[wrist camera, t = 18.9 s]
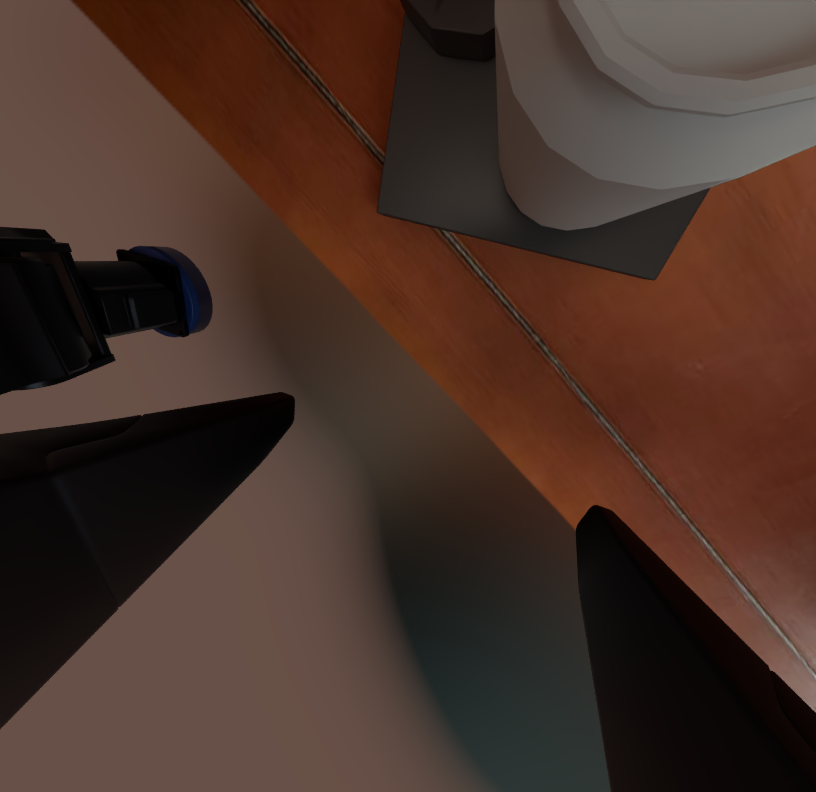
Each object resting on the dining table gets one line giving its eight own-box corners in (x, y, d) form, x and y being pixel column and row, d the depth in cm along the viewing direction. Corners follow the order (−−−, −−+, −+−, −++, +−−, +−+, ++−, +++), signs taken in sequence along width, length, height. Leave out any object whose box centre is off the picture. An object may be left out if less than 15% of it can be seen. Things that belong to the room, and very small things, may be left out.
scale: (369, 211, 18) (346, 203, 15) (427, -235, 11) (404, -389, 8) (645, 279, 15) (674, 283, 13) (944, -239, 8) (1143, -461, 6)
